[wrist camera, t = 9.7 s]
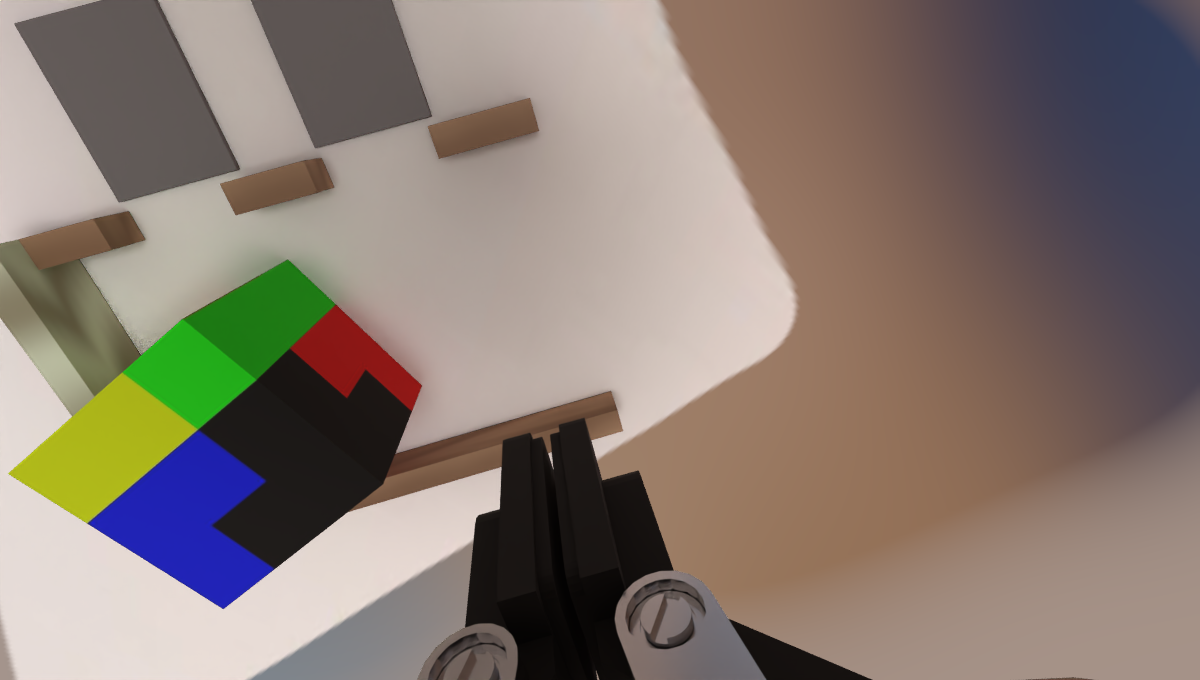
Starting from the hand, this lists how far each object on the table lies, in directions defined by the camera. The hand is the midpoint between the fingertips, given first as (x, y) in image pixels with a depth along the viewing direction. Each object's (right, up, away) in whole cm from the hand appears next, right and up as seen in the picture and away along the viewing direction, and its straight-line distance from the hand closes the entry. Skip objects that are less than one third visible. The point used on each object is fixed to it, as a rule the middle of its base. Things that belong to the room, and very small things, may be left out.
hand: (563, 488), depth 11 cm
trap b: (-12, +17, +15) cm, 26 cm away
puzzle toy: (-17, +1, +21) cm, 27 cm away
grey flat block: (-21, +14, +15) cm, 30 cm away
